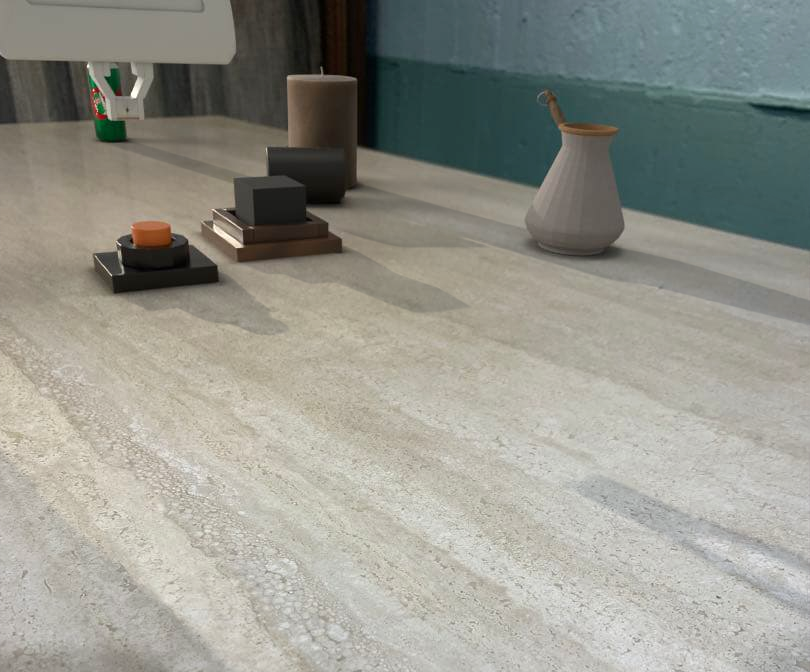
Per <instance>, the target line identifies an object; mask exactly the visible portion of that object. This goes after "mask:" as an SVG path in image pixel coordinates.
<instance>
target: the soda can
mask: <svg viewBox="0 0 810 672" xmlns="http://www.w3.org/2000/svg"><path fill="white" fill-rule="evenodd" d="M109 63H110V73H111V75H110V77H105V76H104V78H105V80H106V81H107V83H108V84H109V86H110V88H111V89H112V91H113V92H114V94H115V96H123V92H122V84H121V83H122V81H121V75H120V68H119V66H118V65H117V62H109ZM86 74H87V81H88V88H89V95H90V103H91V109H92V110H91V111H92V117H93V125H94V131H95V138H97V140H99V141H100V142H104V143H121V142H125V141H126V139H127V138H128V134H127V126H126V120H117V121H112V120H110V119H108V116H107V109H106V101H105V96H103V94H102V93H101V91H100V90H99V88H98V87H97V85H96V84H95V82H94V80H93V79H92V77H91V76H90V74H89V67H88V64H87V66H86Z"/></svg>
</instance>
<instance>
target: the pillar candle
mask: <svg viewBox="0 0 810 672" xmlns="http://www.w3.org/2000/svg"><path fill="white" fill-rule="evenodd" d="M320 71H321V74H291V75H289V74H288V75H287V76H286V88H287V89H286V90H287V120H288V121H287V123H288V125H287V126H288V127H287V128H288V131H287V132H288V147H308V148H317V147H318V146H319V147H320V148H327V147H329V148H343V149H344V152H345V158H346V191H347V190H350V189H352V188H354V187H357V184H358V179H357V178H358V177H357V176H358V171H357V170H358V169H357V167H358V79H357V78H356V77H352V76H347V75H339V74H338V75H337V74H336V75H334V74H324V68H323V66H320Z"/></svg>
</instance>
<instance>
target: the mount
mask: <svg viewBox="0 0 810 672" xmlns="http://www.w3.org/2000/svg"><path fill="white" fill-rule="evenodd" d="M306 221H307V222H296V223H284V224H271V225H259V226H250V227H249V226H248V225H246V224H245V223H244V222H242V221H241V220H239V219H238V218H236V211H235V206H234V207H224V208H212V220H202V221H200V228H201V229H200V230H201V235H202V236H203V237H205V238H206V239H207V240H208V241H210V242H211V243H212V244H213V245H214V246H216V247H217V248H219V249H220V250H221V251H222V252H224V253H225V254H226V255H228V256H229V257H231V258H232V259H233V260H234V261H235V262H237V263H242V262H252V261H253V262H254V261H262V260H273V259H283V258H292V257H293V258H295V257H304V256H315V255H323V254H325V255H326V254H341V253H343V238H342V237H340V236H338V235H337V234H335V233H333V232H331V231H329V230H330V229H329V228H330V227H329V222H328V221H326V220H325V219H322V218H321V217H319V216H317V215H315V214H313V213H312V212H310V211H308V210H306Z"/></svg>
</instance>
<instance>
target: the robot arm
mask: <svg viewBox="0 0 810 672" xmlns="http://www.w3.org/2000/svg"><path fill="white" fill-rule="evenodd" d="M232 9H233V8H232V4H231V0H0V56H1V57H2V58H4V59H6V60H12V61H14V60H15V61H16V60H17V61H18V60H19V61H53V62H54V61H56V62H57V61H59V62H87V65H88V67H89V74H90V76H91V77H92V79H93V80H94V82H95V84H96V85H97V87H98V88H99V90H100V91H101V93H102V94H103V96H105V101H106V109H107V116H108V119H110V120H112V121H117V120H125V121H145V107H144V99H146V96H147V94H148V91H149V90H150V87H151V86H152V83H153V80H154V78H155V76H154V75H155V74H154V64H181V65H182V64H183V65H184V64H186V65H187V64H188V65H190V64H191V65H229V64H230V63H231V62H232V60H233V59H234V57H235V55H236V53H237V39H236V30H235V29H236V28H235V21H234V16H233V15H234V14H233V10H232ZM109 62H115V63H130V69H131V73H132V75H134V76H136V77H137V78H136V81H135V83H134V86H133V89H132V91H131V93H130V95H127V96H126V95H125V96H124V95H122V96H115V94H114V92H113V91H112V89H111V88H110V86H109V84H108V83H107V81H106V80H105V78H104V76H105V77H110V75H111V73H110V63H109Z"/></svg>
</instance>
